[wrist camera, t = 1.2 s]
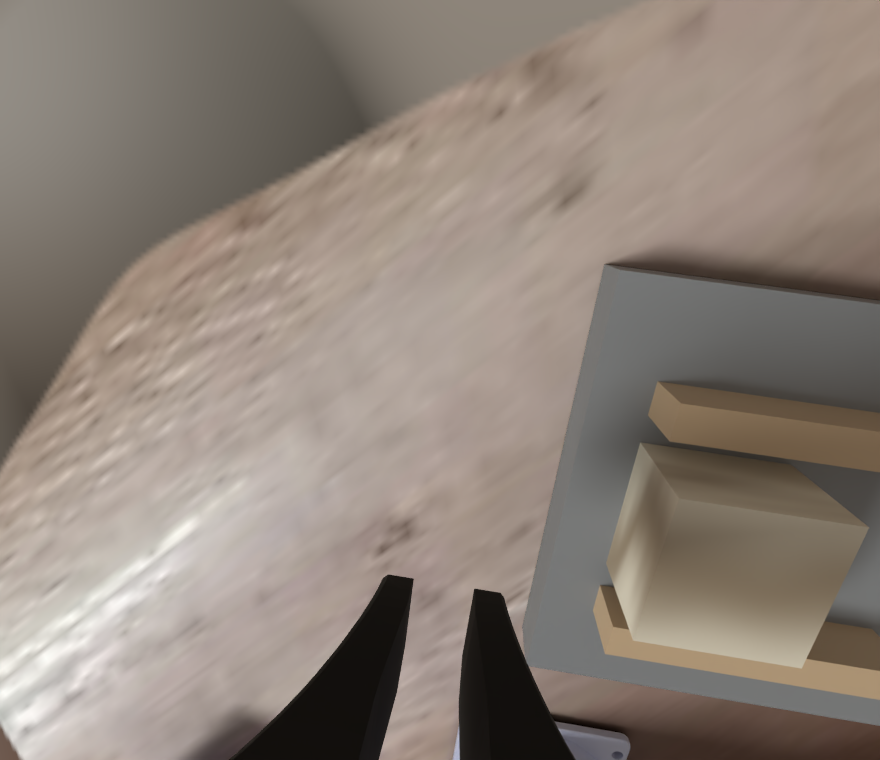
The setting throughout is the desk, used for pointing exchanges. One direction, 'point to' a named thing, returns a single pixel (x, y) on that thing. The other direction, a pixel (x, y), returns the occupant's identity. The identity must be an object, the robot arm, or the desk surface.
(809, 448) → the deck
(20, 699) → the desk surface
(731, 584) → the wooden block
